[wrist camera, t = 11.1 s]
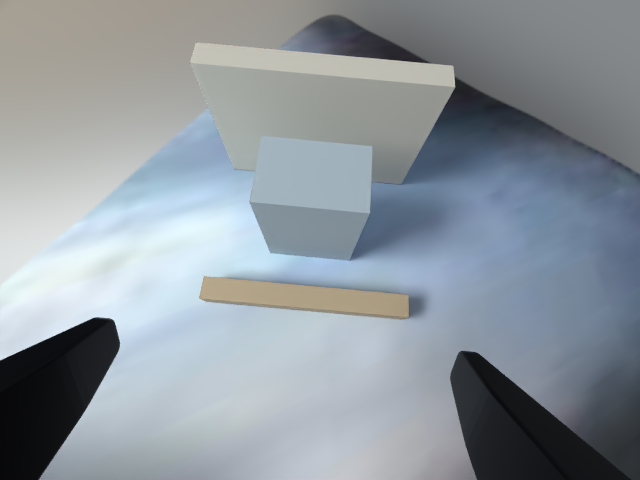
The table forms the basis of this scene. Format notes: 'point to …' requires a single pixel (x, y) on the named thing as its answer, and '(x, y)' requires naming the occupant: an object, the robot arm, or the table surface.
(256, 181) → the pale grey square box
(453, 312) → the table surface
